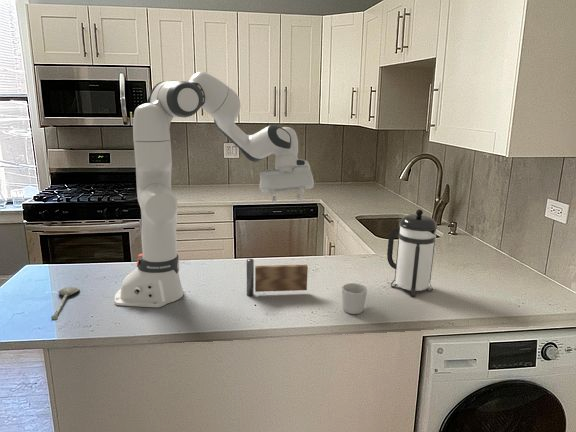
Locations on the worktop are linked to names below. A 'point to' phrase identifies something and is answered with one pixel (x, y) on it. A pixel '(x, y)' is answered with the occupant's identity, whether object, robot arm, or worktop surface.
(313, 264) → the worktop surface
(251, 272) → the gate post
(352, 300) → the cup
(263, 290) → the gate
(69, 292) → the soupspoon
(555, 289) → the worktop surface
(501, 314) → the worktop surface
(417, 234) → the coffee press
